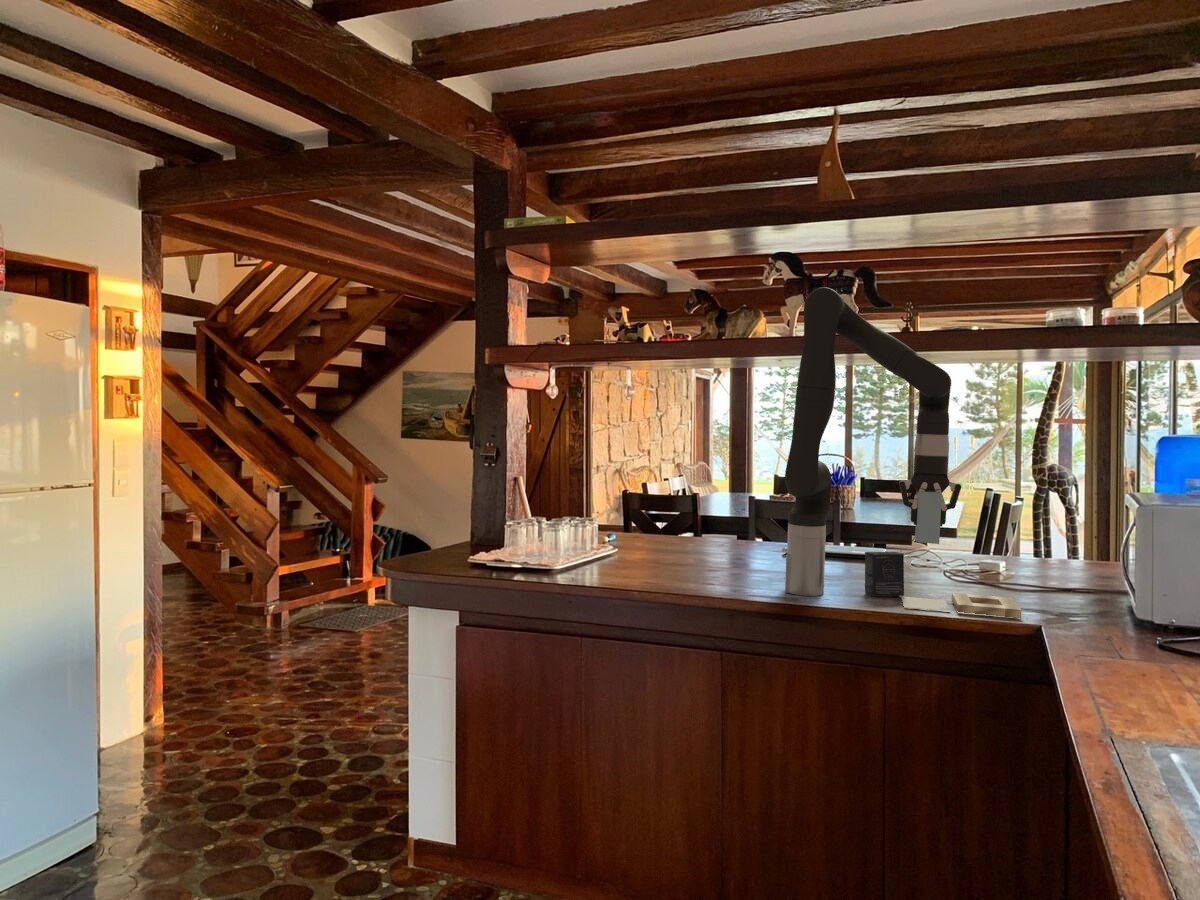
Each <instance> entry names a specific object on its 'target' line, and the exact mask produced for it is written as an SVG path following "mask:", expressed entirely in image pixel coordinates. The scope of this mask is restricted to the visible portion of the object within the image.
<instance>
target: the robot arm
mask: <svg viewBox="0 0 1200 900" xmlns="http://www.w3.org/2000/svg"><path fill="white" fill-rule="evenodd" d="M837 335H839V336H841V337H842V338H844V339H846V340H847V341H849V342H850V343H852V344H853V345H854V346H856V347H857V348H858V349H860V351H862V352H863V353H865V354H866V355H867V356H868V357H870V358H871V359H872V360H873V361H875V362H876V363H877V364H879V365H880V366H882V367H883V368H884V369H886V370H887V371H888V372H891V373H892V374H893V375H894V376H897V377H898V378H901V379H902V380H904V381H905V382H907V383H908V384H909V385H911V386H912V387H913V388H914V389H916V390H917V391H918V413H917V419H916V434H915V435H916V436H915V440H914V448H913V452H914V455H913V456H914V457H913V475H912V477H911V478H910V479H907V480H900V481H898V482H899V484H898V485H899V489H900V493H901V498H902V502H903V505H904V506H906V507H908V508H910V522H911V523H912V524H913V525H914V526H916V525H917V506H918V493H919V491H929V492H942V500H941V519H940V528H942V527H943V525H946V522H947V511H948V510H952V509H955V508H956V506H957V503H958V499H959V496H960V492H961V490H962V485H961V484H960V483H958V482H957V483H955V482H953V481H950V479H949V476H948V475H949V457H950V454H949V453H950V441H949V435H950V434H949V433H950V432H949V431H950V413H949V407H950V398H951V397H950V396H951V389H952V379H951V378H952V377H951V376H950V375H949V373H948V372H947V371H945V369H943V368H941V367H939V366H938V365H937V364H935V363H933V362H931V361H930V360H928V359H926V358H925V357H923V356H921V355H920V354H919V353H917V352H916V351H915V350H914V349H912V348H911V347H909V346H908V345H907V344H906V343H903V342H902V341H900V340H899V339H898V338H896V337H895V336H893V335H891V334H889V333H887V332H886V331H884V330H882V329H881V328H879V327H877V326H876V325H874V324H872V323H870V321H867V320H866V319H864V318H863V317H862V316H861V315H859V313H857V312H856V311H855V310H854V309H852V308H851V306H850V305H848V303H847V302H845V300H844V298H843V297H842V296H841V294H840V293H838V292H837V291H836V290H834V289H833V288H830V287H825V286H823V287H822V286H821V287H817V288H816V289H813V290H812V291H811V292H810V293H809V294H808V295H807V297H806V298H805V301H804V305H803V345H802V351H801V357H800V361H799V362H800V363H799V369H798V374H797V375H798V377H797V382H796V392H795V401H794V415H793V423H792V424H793V425H792V436H791V437H792V438H791V442H790V443H791V444H790V448H789V452H788V458H787V462H786V467H785V472H784V473H785V474H784V483H785V487H786V489H787V491H788V492H789V494H791V495H792V496H793V497H795V500H794V504H793V507H792V508H791V510H790V511H789V512H788V517H787V519H788V520H787V548H786V550H787V551H786V556H785V578H784V581H785V582H784V583H785V584H784V588H785V589H784V593H785V594H786V593H787V594H792V595H797V596H810V597H811V596H821V595H824V592H825V591H824V590H825V565H826V563H825V562H826V533H827V518H828V516H829V513H830V509H831V497H832V496H831V495H832V475H831V471H830V469H829V467H828V466H827V464H825V463H824V462H822V461H820V460H819V459H820V447H821V441H822V437H823V436H824V433H825V430H826V428H827V426H828V423H829V421H830V419H831V416H832V413H833V411H834V410H833V409H834V406H835V405H834V404H835V395H836V388H837V387H836V386H837V385H836V382H837V378H836V375H837V373H836V370H837V369H836V360H835V343H836V336H837ZM911 485H912V486H913V488H914V489H915V491H916V492H915V494H914V498H913V499H912V501H910V500H909V496H908V492H907V490H909V489H910V486H911ZM948 487H950V488H949V490H950V492H952V493H951V496H950V500H949V502H948V503H946V500H945V498H944V495H943V492H945V490H946V489H947V488H948Z"/></svg>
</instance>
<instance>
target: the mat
mask: <svg viewBox="0 0 1200 900" xmlns="http://www.w3.org/2000/svg"><path fill="white" fill-rule="evenodd" d="M900 597H901V598H900V599H901V603H902V602H903V603H902V606H904V607H903V609H904V608H914V609H927V610H928V609H929V610H935V609H940V608H943V607H944V608H946V607H947V608H949V609H950V607H949V605H948V602H947V601H946V599H940V598H939V599H938V598H937V599H936V598H928V597H927V598H925V597H912V596H900Z"/></svg>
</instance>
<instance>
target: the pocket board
mask: <svg viewBox="0 0 1200 900" xmlns="http://www.w3.org/2000/svg"><path fill="white" fill-rule="evenodd" d="M952 602H953V603H952ZM951 603H952V605H953V604H954V605H953V607H954V606H955V608H956V609H957V611H958V612H964V613H975V614H986V615H996V616H1005V617H1013V618H1020V619H1021V620H1022V609H1021V607H1020V606H1019V605H1018V604H1017V603H1016V601H1015V600H1014V599H1013V598H1012V597H1008V596H997V595H996V596H994V595H985V594H983V595H982V594H970V593H958V592H957V593H956V592H952V593H951ZM955 608H954V609H955Z"/></svg>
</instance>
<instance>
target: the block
mask: <svg viewBox="0 0 1200 900" xmlns="http://www.w3.org/2000/svg"><path fill="white" fill-rule="evenodd" d="M942 495H943V493H942V492H929V491H919V493H918V506H917V525H915V530H914V531H915V532H914V541H915V542H916V543H920V544H932V545H933V544H935V545H940V539H941V538H940V537H941V535H940V534H941V533H940V532H941V527H940V519H941V500H942Z"/></svg>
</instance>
